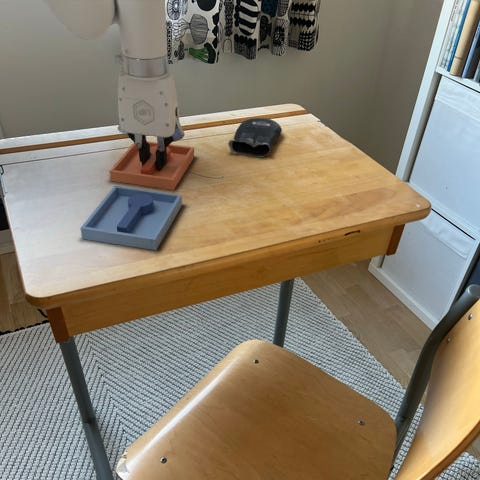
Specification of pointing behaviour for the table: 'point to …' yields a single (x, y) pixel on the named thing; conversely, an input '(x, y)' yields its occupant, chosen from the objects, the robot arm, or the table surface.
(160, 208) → the blue tray
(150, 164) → the spoon terracotta
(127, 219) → the dark blue paddle
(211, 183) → the table surface
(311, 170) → the table surface
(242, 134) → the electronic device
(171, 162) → the terracotta tray
